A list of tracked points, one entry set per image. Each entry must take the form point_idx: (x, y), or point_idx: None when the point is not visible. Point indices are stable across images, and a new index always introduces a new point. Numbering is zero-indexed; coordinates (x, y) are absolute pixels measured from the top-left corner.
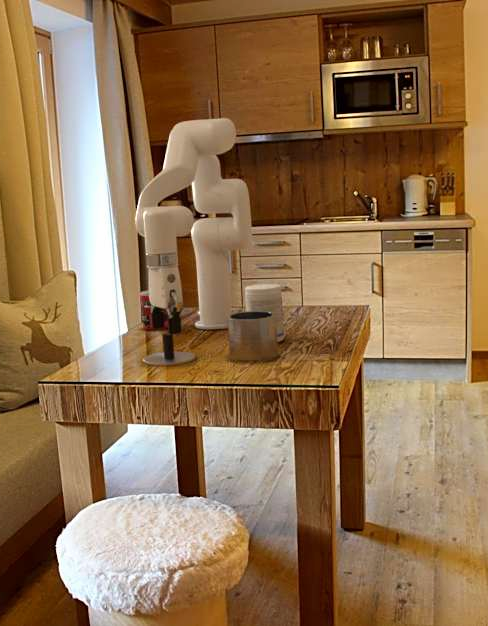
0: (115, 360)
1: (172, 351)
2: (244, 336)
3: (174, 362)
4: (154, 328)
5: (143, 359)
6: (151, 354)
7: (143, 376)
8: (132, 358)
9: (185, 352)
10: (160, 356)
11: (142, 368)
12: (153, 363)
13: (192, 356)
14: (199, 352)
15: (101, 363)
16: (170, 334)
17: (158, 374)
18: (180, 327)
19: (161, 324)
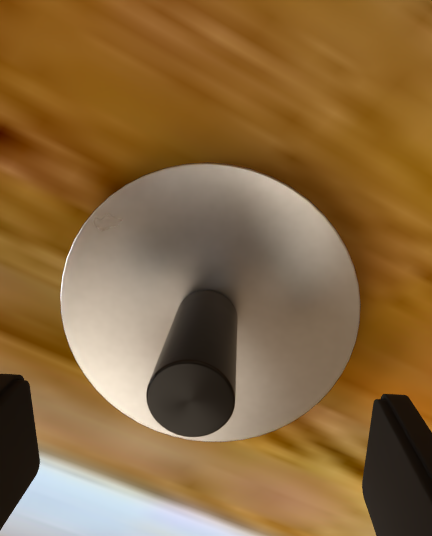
0: None
1: (235, 325)
2: None
3: (342, 349)
4: (38, 462)
5: (159, 430)
6: (77, 357)
7: None
8: None
9: (158, 189)
10: (155, 343)
11: (235, 448)
12: (274, 430)
13: (290, 206)
14: (96, 50)
15: (26, 525)
16: (225, 392)
17: None
18: (425, 433)
19: (15, 420)
